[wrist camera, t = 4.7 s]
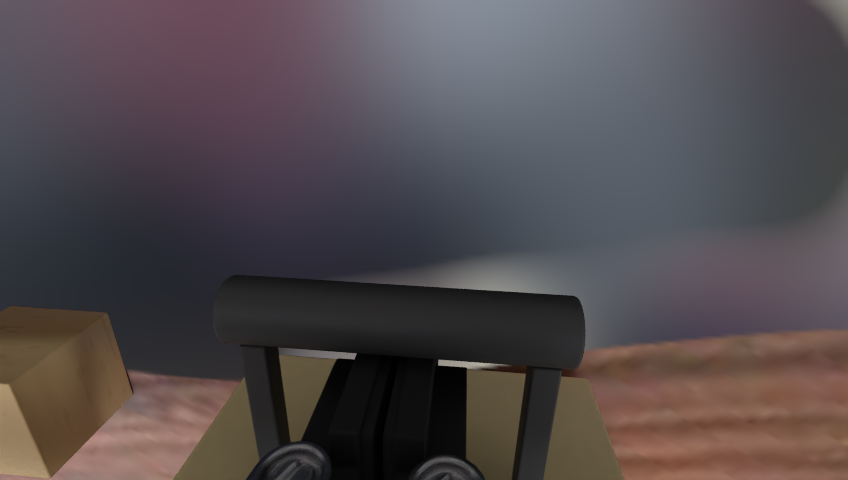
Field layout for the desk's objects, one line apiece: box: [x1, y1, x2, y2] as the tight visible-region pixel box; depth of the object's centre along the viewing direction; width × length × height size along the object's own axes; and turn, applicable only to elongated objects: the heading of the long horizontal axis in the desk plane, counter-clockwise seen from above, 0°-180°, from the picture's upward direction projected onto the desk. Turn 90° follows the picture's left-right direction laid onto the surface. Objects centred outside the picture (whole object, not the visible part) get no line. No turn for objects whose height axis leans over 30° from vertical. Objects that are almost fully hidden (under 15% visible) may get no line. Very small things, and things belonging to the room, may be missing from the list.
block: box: [0, 306, 133, 479], centre depth 16 cm, size 4×4×4 cm
